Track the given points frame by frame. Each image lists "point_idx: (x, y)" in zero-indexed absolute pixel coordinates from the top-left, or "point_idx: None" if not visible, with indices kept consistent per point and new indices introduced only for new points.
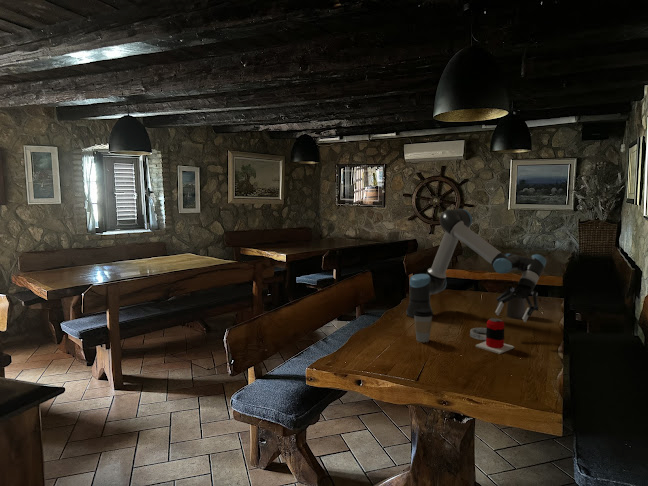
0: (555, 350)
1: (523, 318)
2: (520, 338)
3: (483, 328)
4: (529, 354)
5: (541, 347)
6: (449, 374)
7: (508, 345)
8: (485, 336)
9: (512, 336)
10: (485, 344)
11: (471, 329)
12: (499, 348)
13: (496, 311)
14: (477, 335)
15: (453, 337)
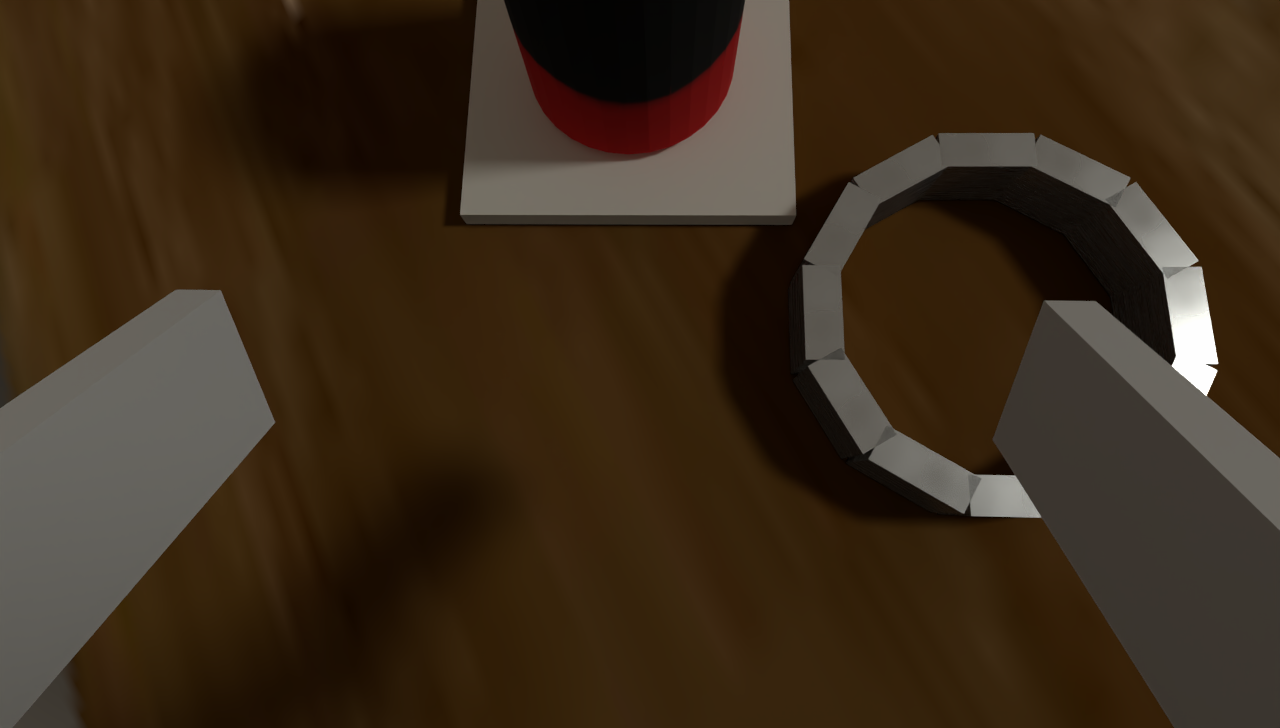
0: None
1: (176, 297)
2: (581, 658)
3: None
4: (257, 163)
5: (230, 501)
6: None
7: (520, 189)
8: (859, 177)
9: (705, 658)
10: None
11: (1183, 266)
12: None
13: (1080, 319)
14: (959, 142)
15: (1159, 15)
